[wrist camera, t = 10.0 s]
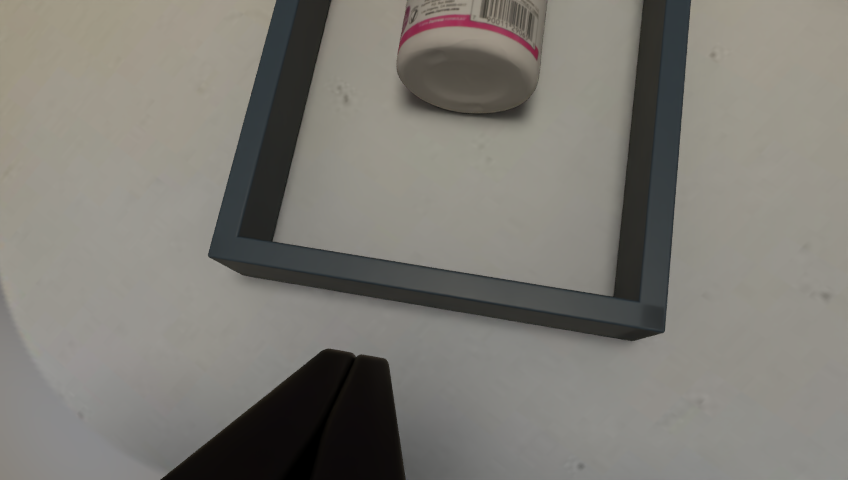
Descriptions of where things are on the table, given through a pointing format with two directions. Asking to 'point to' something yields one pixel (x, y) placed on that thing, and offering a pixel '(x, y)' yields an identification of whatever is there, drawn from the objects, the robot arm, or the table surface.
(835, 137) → the table surface
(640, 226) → the bin
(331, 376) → the robot arm
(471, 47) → the pill bottle
